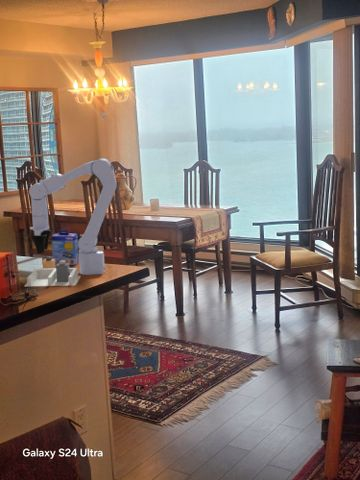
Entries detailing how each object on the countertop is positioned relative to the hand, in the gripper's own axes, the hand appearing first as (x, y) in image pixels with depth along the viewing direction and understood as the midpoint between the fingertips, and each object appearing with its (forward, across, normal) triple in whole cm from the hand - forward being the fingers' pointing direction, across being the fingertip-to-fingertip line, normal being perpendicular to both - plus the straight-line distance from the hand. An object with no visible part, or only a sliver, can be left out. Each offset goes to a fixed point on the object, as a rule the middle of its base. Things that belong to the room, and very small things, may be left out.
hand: (42, 251), depth 239 cm
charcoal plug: (+9, +12, +9) cm, 17 cm away
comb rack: (+9, +12, +6) cm, 16 cm away
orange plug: (+9, 0, +2) cm, 10 cm away
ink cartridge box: (+10, -20, +5) cm, 23 cm away
